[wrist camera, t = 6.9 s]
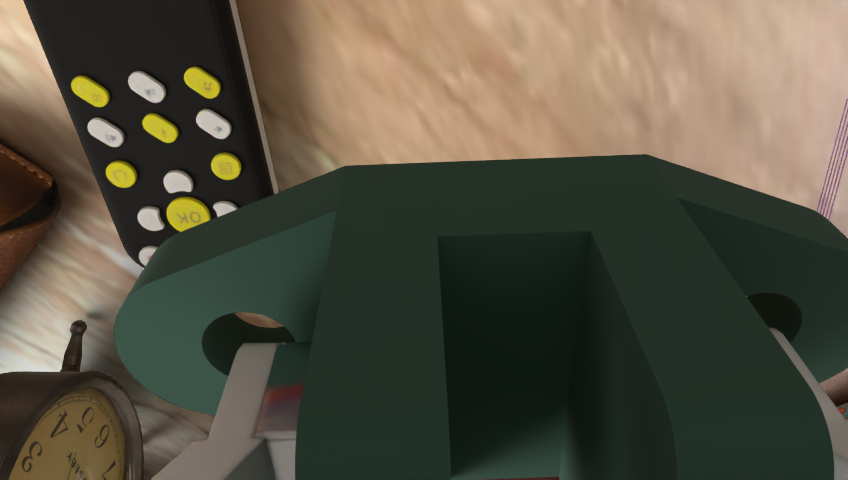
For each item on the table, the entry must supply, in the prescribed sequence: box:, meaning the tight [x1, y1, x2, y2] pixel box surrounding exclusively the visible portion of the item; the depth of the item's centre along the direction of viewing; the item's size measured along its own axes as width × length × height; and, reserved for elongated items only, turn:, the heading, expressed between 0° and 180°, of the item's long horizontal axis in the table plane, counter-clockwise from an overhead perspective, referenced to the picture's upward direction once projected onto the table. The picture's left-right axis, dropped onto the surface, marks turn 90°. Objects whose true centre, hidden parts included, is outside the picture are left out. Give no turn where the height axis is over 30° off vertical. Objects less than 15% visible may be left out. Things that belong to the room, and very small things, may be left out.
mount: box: [114, 154, 848, 480], centre depth 8 cm, size 11×4×5 cm, turn 92°
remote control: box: [23, 0, 279, 268], centre depth 22 cm, size 6×13×2 cm, turn 4°
